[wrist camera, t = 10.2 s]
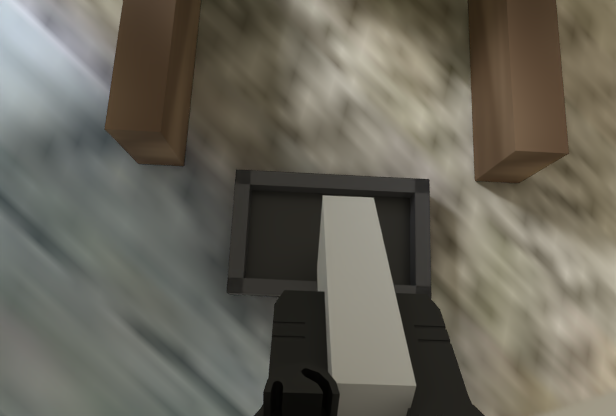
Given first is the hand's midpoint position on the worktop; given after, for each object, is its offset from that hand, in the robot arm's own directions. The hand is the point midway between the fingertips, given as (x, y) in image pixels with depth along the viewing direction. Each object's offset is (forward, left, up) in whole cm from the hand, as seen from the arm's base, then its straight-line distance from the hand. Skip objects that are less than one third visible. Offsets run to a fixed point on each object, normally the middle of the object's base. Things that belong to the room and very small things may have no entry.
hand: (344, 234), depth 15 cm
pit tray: (0, +1, -6) cm, 6 cm away
